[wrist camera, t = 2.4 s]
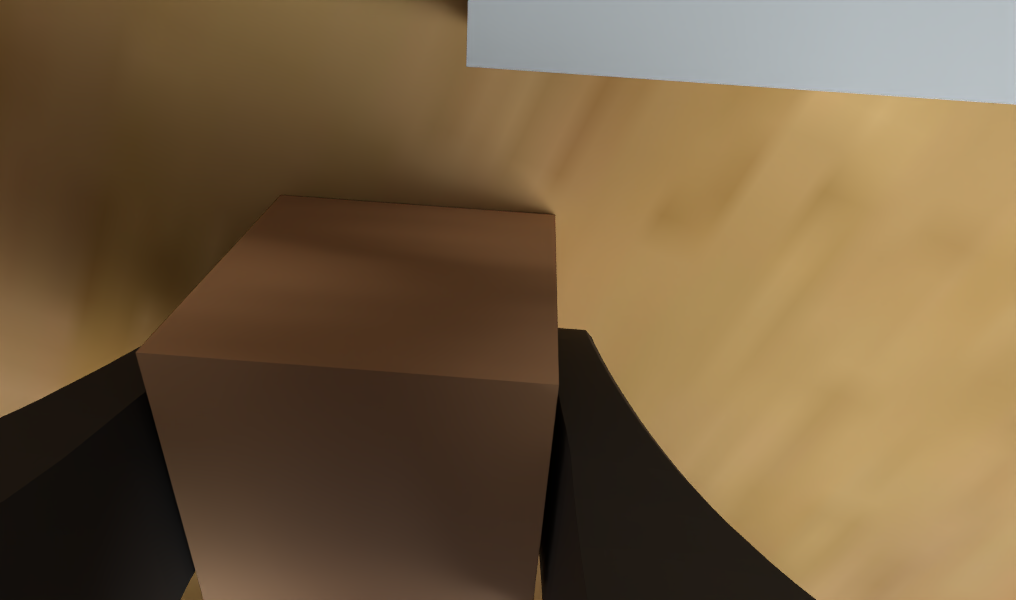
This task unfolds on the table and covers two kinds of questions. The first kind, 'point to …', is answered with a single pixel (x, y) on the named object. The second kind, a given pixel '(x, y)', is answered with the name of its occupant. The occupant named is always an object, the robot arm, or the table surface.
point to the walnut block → (364, 403)
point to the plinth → (761, 43)
